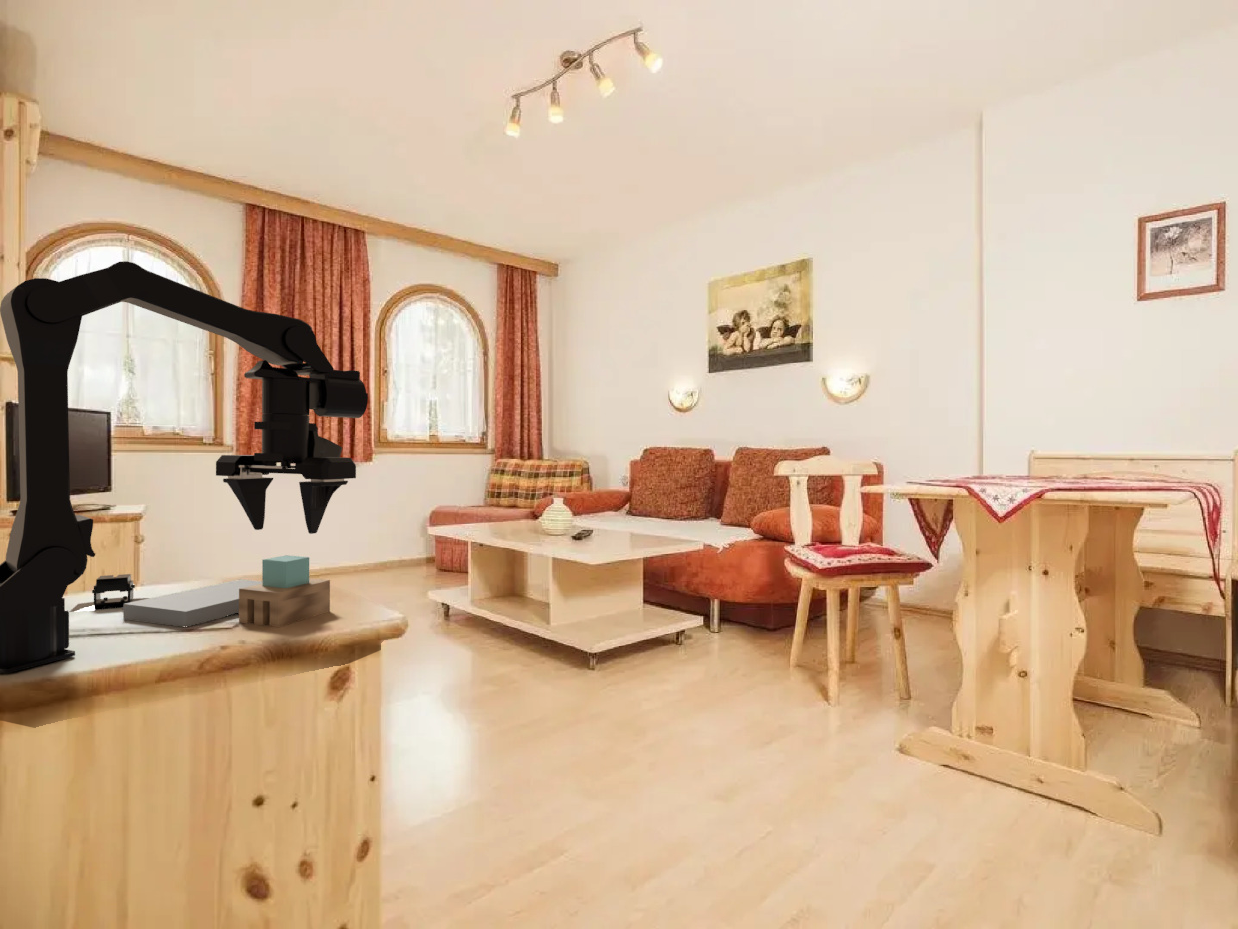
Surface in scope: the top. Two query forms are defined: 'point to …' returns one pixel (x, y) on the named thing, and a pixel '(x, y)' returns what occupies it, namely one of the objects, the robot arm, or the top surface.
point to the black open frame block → (109, 584)
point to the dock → (189, 605)
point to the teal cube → (285, 571)
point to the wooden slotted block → (283, 603)
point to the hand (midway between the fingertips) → (285, 531)
